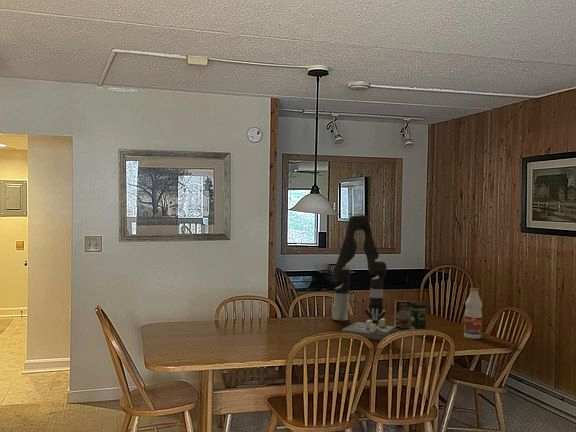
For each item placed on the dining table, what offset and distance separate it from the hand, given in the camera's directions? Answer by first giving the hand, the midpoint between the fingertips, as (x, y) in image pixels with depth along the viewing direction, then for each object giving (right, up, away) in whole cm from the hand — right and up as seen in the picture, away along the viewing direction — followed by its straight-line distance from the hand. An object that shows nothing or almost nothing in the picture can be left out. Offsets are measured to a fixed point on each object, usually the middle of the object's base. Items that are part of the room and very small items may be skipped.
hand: (375, 326), depth 326 cm
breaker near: (-3, -1, -9) cm, 9 cm away
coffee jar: (+25, -5, +6) cm, 27 cm away
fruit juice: (+56, -6, +1) cm, 56 cm away
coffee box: (+20, -5, +22) cm, 30 cm away
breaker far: (+5, -1, +7) cm, 9 cm away
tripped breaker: (-3, -1, +1) cm, 4 cm away
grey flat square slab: (-3, -4, +1) cm, 6 cm away
